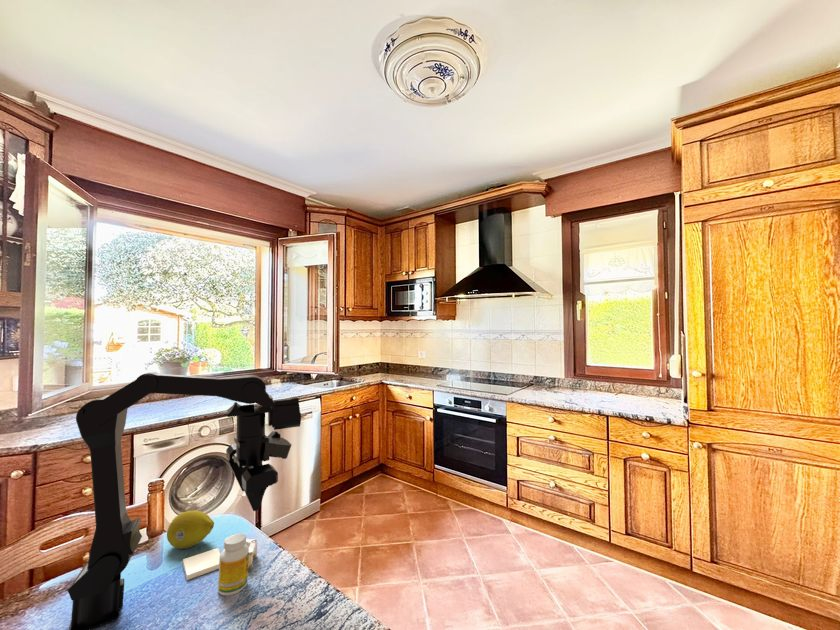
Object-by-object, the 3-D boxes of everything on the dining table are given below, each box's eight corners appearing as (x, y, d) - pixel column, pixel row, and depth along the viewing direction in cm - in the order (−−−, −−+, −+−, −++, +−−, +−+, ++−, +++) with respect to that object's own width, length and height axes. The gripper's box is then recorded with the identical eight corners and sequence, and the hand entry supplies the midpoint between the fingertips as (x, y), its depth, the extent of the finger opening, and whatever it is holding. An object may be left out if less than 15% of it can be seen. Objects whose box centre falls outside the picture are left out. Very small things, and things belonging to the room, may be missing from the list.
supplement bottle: (215, 585, 71) (218, 537, 72) (243, 575, 75) (246, 528, 75) (220, 601, 67) (223, 549, 68) (250, 588, 71) (252, 539, 71)
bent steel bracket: (241, 574, 75) (241, 556, 75) (231, 554, 82) (232, 538, 82) (262, 565, 78) (263, 549, 78) (251, 547, 85) (252, 532, 85)
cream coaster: (186, 580, 73) (186, 575, 73) (182, 564, 78) (183, 559, 78) (224, 566, 77) (224, 562, 77) (217, 552, 83) (218, 547, 83)
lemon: (155, 552, 82) (158, 517, 83) (183, 534, 90) (185, 503, 91) (194, 558, 80) (196, 522, 81) (219, 539, 88) (221, 507, 89)
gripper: (302, 438, 75) (301, 507, 76) (274, 413, 89) (273, 471, 90) (247, 451, 68) (246, 528, 69) (226, 422, 82) (225, 485, 83)
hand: (250, 499), depth 78 cm, fingers open, 9 cm apart
